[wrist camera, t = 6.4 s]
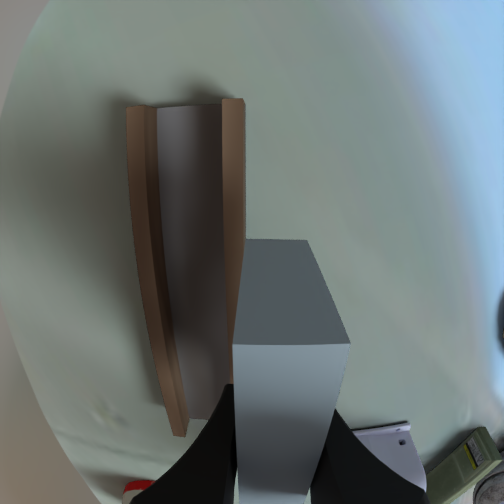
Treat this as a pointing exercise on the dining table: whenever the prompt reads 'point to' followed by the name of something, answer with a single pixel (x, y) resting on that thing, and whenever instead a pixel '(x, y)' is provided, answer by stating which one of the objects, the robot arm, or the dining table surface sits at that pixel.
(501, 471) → the decorative orb
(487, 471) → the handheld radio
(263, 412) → the door panel
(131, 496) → the kitchen timer
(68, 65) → the dining table surface
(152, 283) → the floor track
